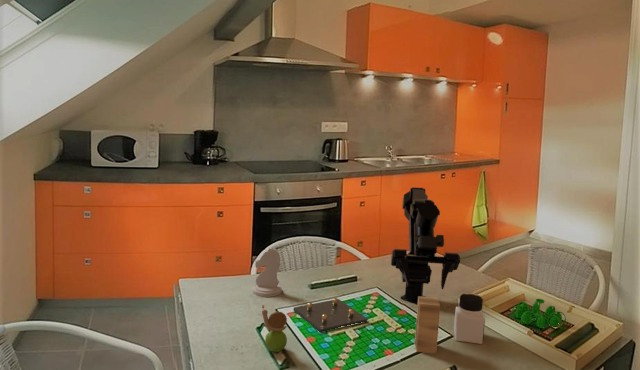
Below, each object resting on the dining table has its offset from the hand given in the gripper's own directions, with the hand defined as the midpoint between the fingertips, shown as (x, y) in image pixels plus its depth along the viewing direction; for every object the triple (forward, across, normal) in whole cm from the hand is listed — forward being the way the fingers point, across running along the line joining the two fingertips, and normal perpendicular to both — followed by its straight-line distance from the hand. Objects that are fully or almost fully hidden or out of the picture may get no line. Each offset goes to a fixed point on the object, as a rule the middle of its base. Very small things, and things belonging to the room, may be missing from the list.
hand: (425, 287), depth 132 cm
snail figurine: (+21, -39, -2) cm, 44 cm away
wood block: (+15, 0, +4) cm, 16 cm away
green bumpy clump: (-1, +36, +20) cm, 42 cm away
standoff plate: (+5, -26, +14) cm, 30 cm away
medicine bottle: (+9, +13, +10) cm, 19 cm away
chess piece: (-6, -48, +25) cm, 55 cm away
